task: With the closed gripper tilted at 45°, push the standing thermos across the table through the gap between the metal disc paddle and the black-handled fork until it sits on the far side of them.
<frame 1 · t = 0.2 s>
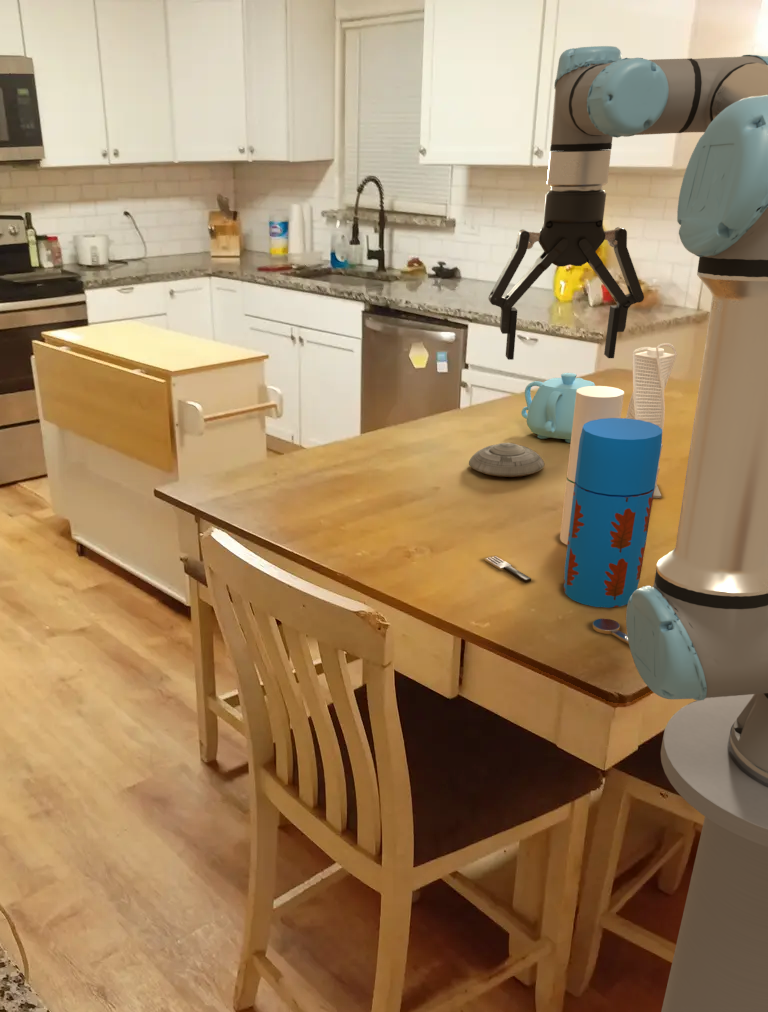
hand: (558, 357, 132), 34 cm above the table, tool pointing down, fingers open, 13 cm apart
decorative pot: (562, 436, 212), on the table
flying saucer: (505, 470, 193), on the table
skyscraper: (636, 493, 179), on the table
fork: (508, 570, 150), on the table
cylindrical container: (581, 540, 160), on the table
metal disc paddle: (621, 637, 130), on the table
thermos: (599, 593, 142), on the table
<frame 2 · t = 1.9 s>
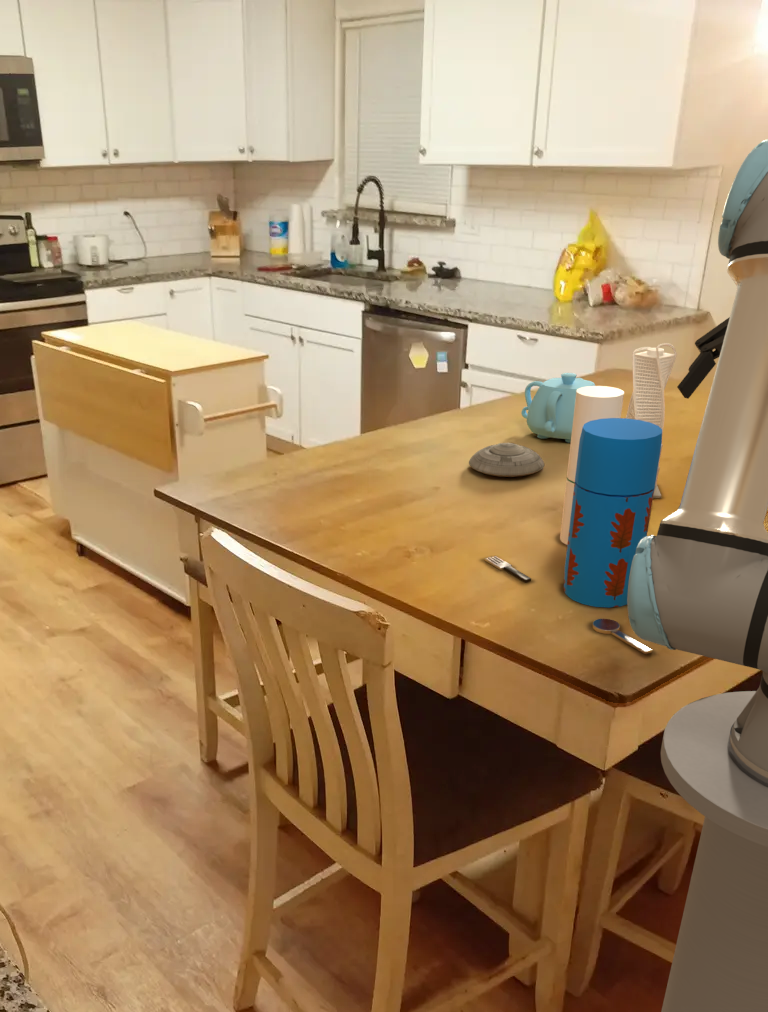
hand: (718, 403, 137), 26 cm above the table, tool tilted 45°, fingers open, 13 cm apart
nothing on the table moved.
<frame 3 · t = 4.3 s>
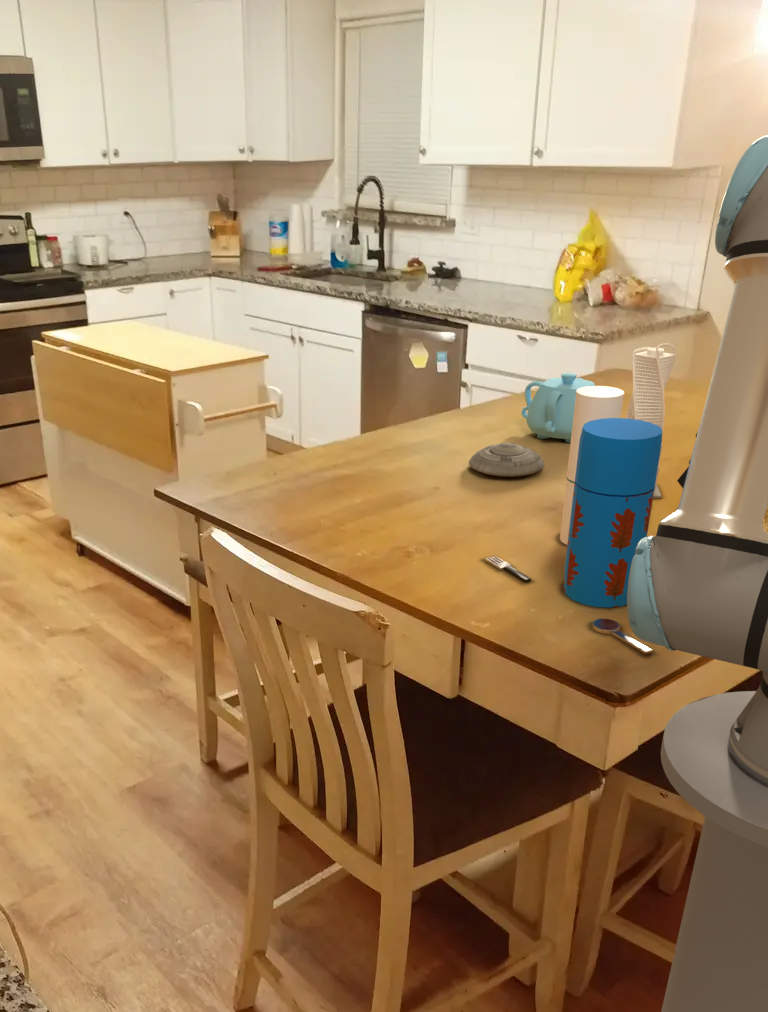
hand: (684, 487, 141), 14 cm above the table, tool tilted 45°, fingers closed
nothing on the table moved.
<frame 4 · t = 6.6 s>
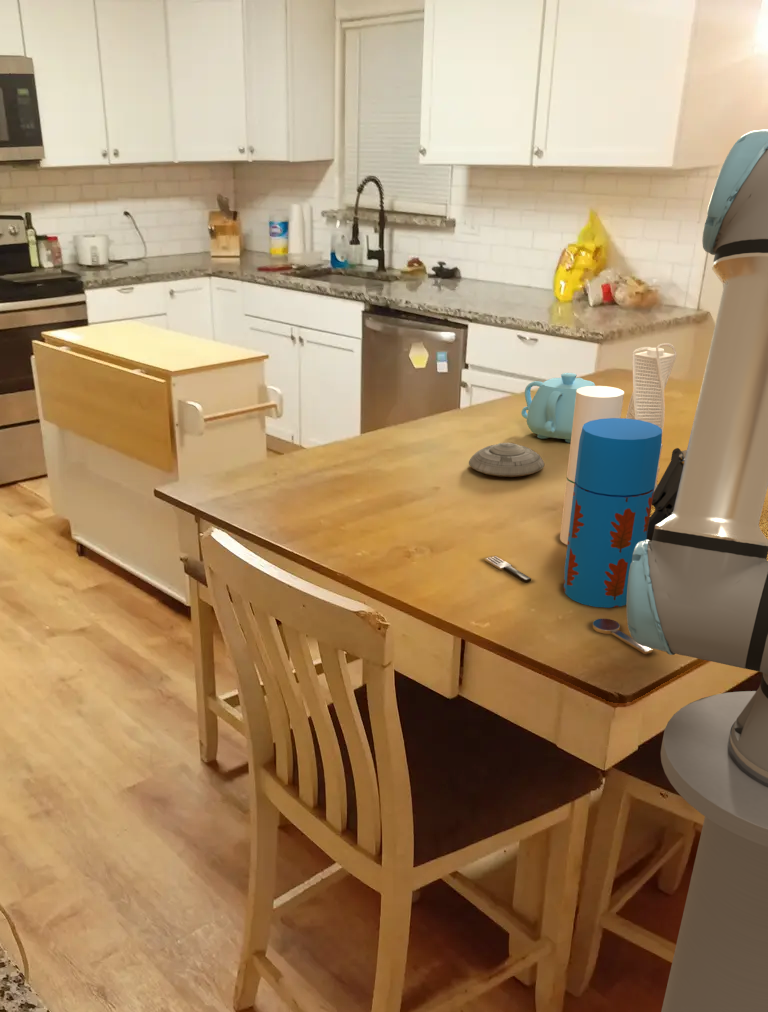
hand: (638, 551, 142), 5 cm above the table, tool tilted 45°, fingers closed
thermos: (599, 593, 142), on the table, touching gripper
everything else where it was.
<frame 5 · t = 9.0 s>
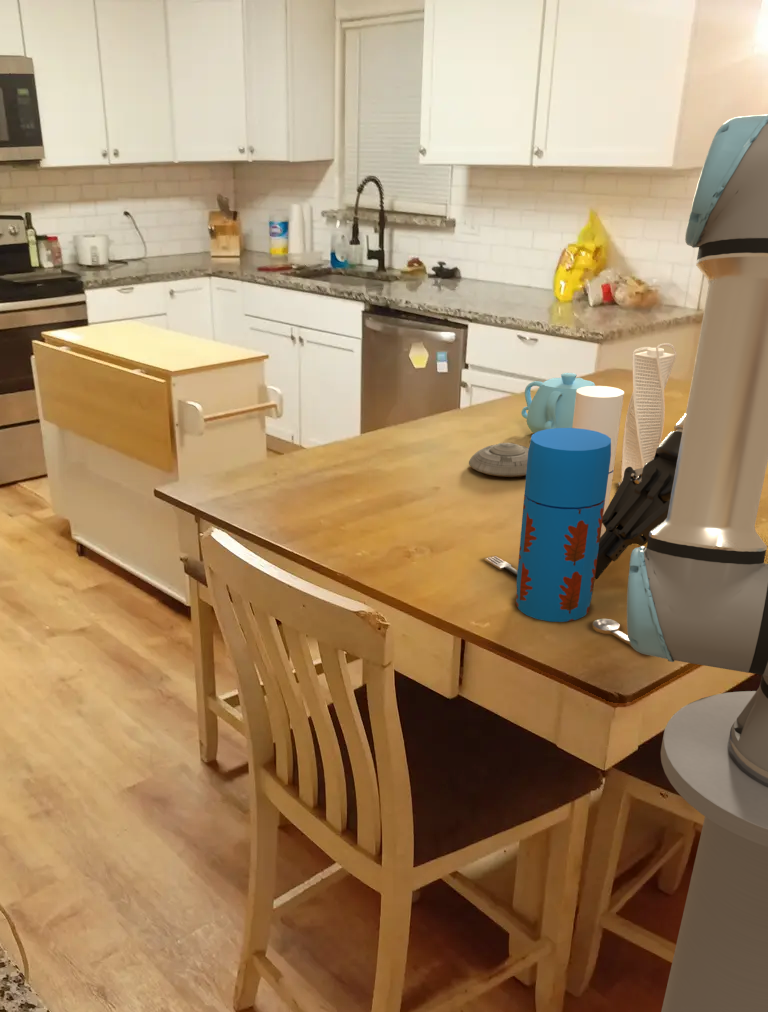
hand: (588, 572, 140), 4 cm above the table, tool tilted 45°, fingers closed
thermos: (552, 606, 139), on the table, touching gripper
everything else where it was.
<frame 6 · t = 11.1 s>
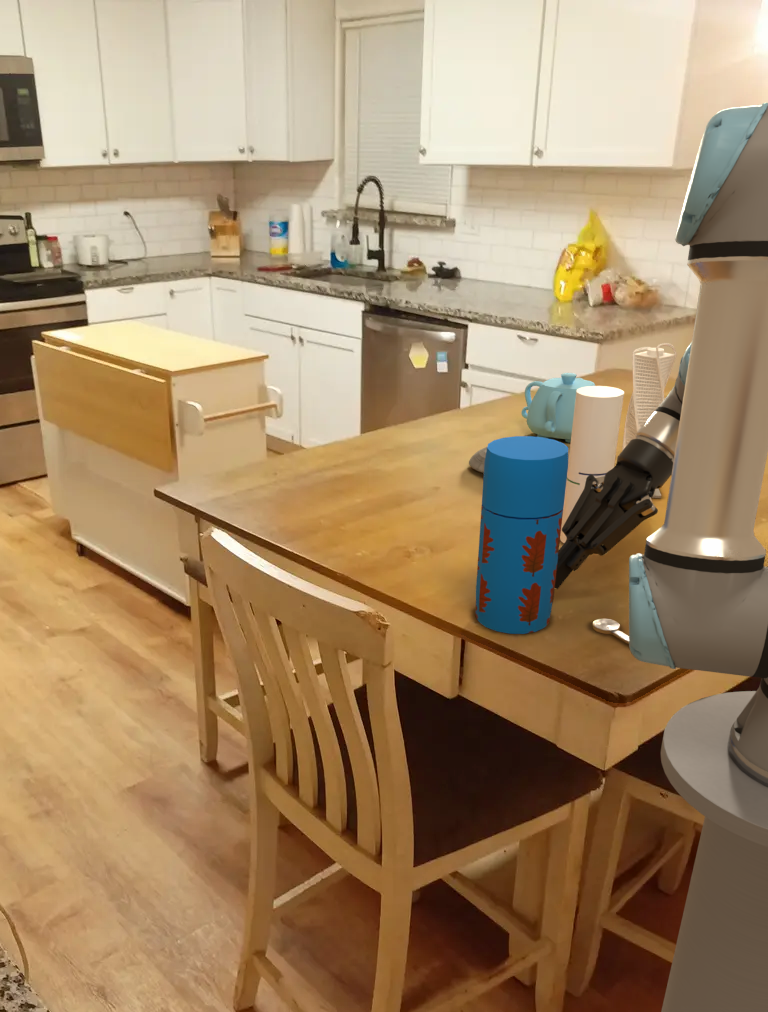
hand: (549, 582, 137), 4 cm above the table, tool tilted 45°, fingers closed
thermos: (512, 618, 136), on the table, touching gripper
everything else where it was.
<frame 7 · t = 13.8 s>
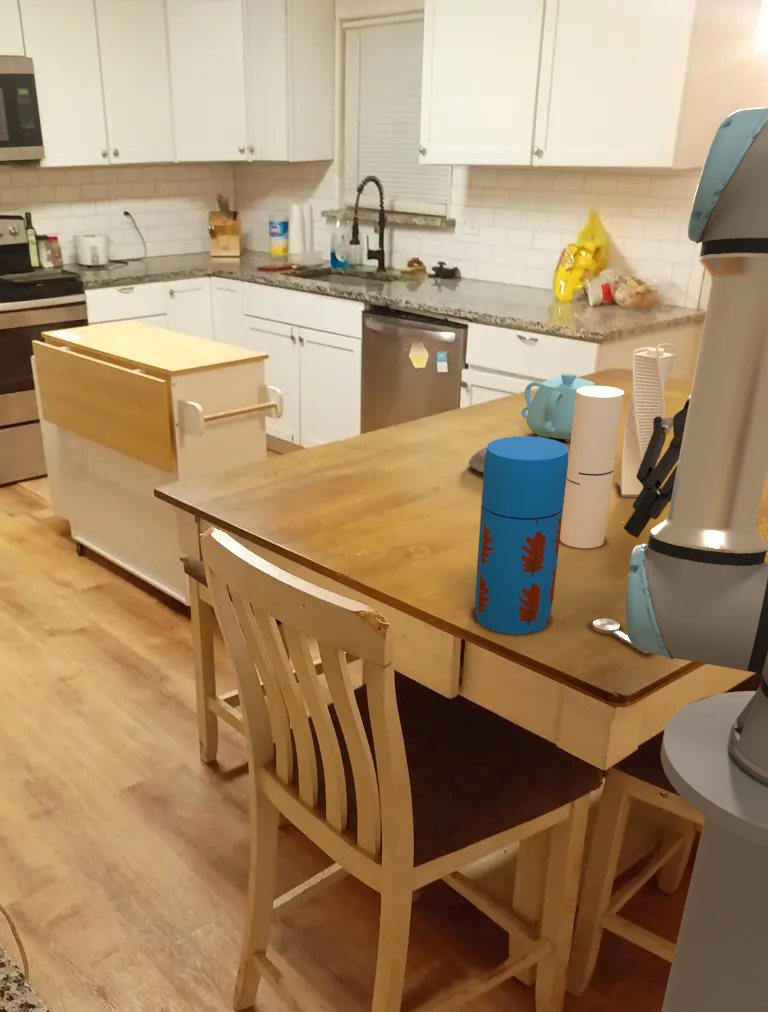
hand: (630, 532, 138), 9 cm above the table, tool tilted 40°, fingers closed
thermos: (511, 618, 136), on the table
everything else where it was.
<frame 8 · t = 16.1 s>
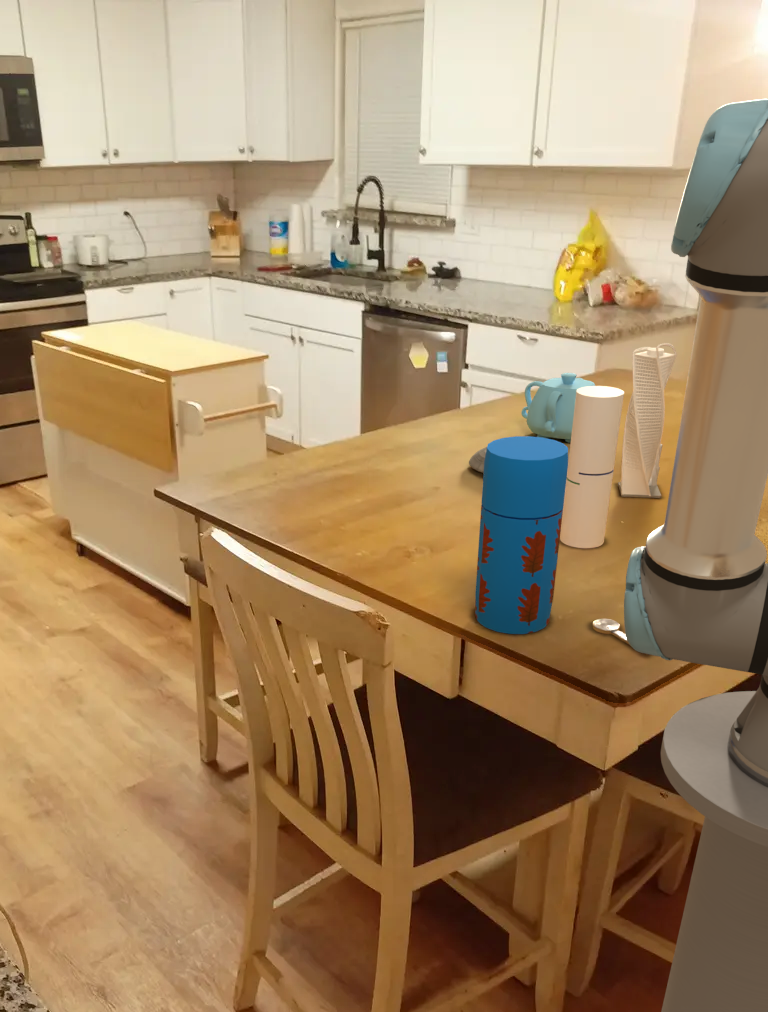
hand: (735, 424, 132), 24 cm above the table, tool pointing down, fingers closed
nothing on the table moved.
at the end: thermos inside the target area (2.3 cm from its centre), on the table; thermos tilted 0°; cylindrical container moved 0.2 cm from its start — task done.
